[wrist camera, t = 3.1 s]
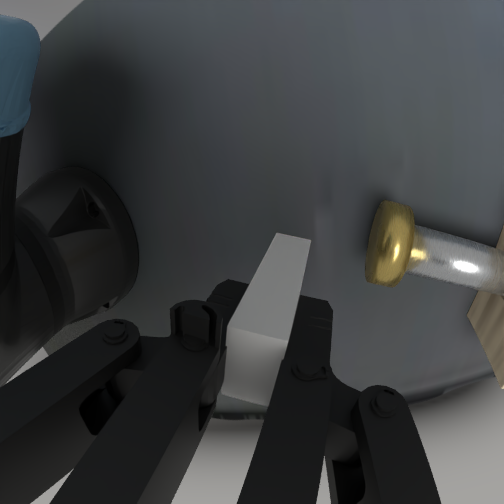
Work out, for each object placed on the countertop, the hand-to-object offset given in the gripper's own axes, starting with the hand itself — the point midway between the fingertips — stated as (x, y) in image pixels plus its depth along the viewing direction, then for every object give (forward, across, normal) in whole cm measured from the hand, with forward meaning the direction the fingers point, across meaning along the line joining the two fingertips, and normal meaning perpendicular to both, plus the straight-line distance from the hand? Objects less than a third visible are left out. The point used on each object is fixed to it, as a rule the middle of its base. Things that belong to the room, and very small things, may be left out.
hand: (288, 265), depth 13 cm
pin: (+8, +11, 0) cm, 14 cm away
